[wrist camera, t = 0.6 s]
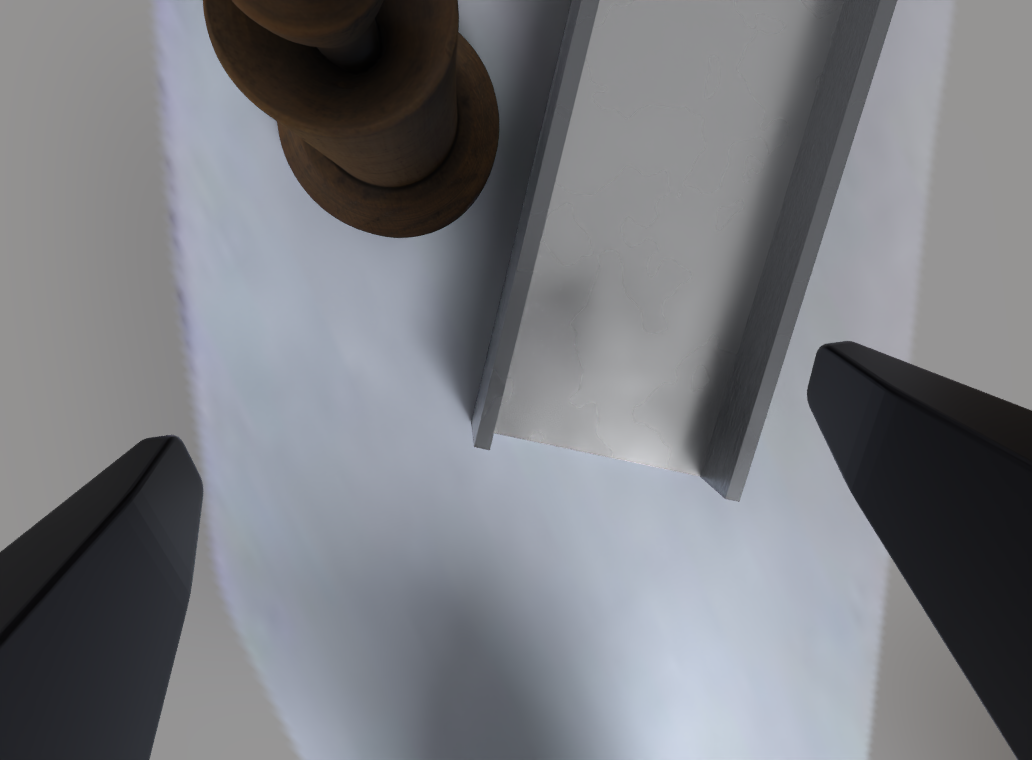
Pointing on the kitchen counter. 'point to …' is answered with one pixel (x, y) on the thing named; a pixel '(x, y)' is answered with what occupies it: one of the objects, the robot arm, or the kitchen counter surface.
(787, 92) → the floor track
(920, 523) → the robot arm
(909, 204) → the kitchen counter surface
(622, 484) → the kitchen counter surface
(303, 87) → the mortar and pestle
